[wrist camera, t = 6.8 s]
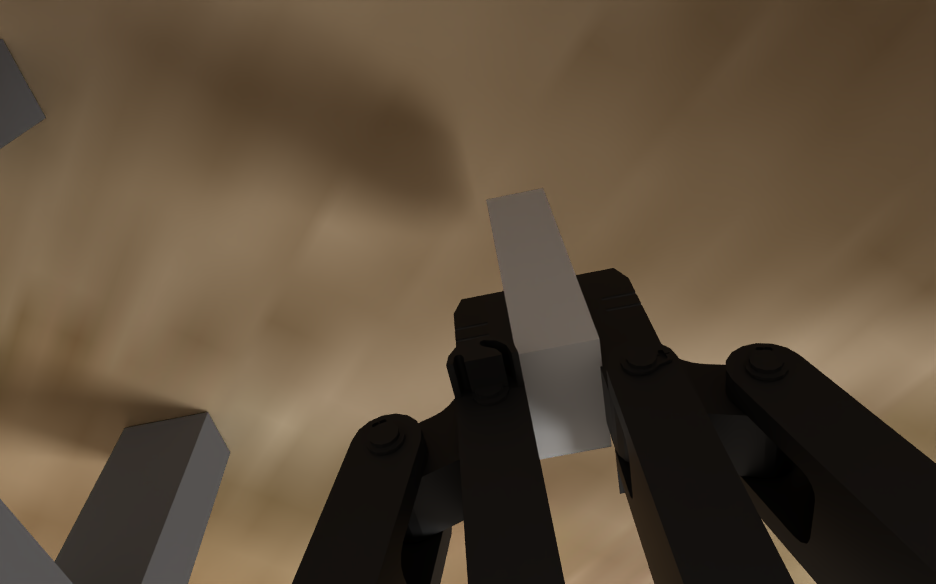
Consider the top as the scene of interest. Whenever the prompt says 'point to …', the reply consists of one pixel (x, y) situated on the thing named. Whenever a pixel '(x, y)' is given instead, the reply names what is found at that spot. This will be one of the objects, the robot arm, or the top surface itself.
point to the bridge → (120, 471)
